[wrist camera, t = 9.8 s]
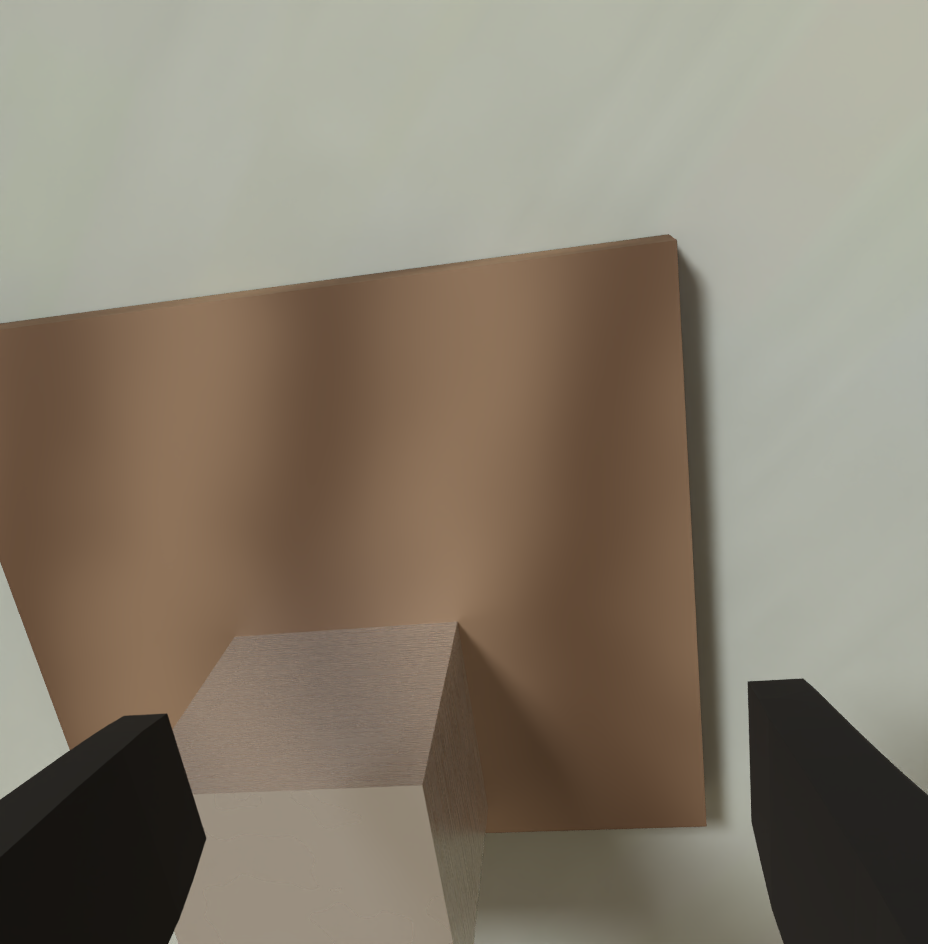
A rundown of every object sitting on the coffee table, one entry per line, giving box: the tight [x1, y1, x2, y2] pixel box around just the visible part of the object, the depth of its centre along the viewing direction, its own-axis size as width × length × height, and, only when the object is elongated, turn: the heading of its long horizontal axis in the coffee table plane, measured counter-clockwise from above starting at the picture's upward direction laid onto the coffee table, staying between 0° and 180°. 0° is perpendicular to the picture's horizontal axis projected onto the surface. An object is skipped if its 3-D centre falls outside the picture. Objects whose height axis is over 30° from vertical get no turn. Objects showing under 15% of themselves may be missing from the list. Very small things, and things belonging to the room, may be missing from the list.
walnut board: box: [0, 234, 707, 833], centre depth 18 cm, size 16×14×5 cm
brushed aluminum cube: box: [173, 622, 488, 944], centre depth 18 cm, size 5×5×5 cm
